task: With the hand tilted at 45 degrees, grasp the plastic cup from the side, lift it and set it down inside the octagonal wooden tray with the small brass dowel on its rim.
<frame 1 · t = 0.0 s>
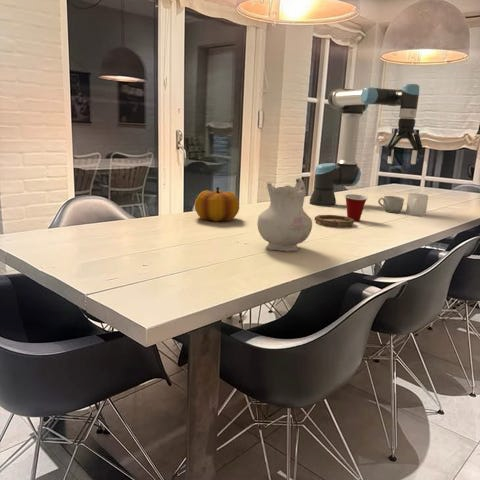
hand: (401, 163, 231), 28 cm above the table, fingers open, 13 cm apart
octagonal wooden tray: (333, 223, 222), on the table
ceramic pitcher: (284, 247, 175), on the table
mug: (415, 214, 260), on the table
decorative pumpkin: (216, 219, 220), on the table
plastic cup: (353, 220, 234), on the table
teacup: (389, 211, 265), on the table
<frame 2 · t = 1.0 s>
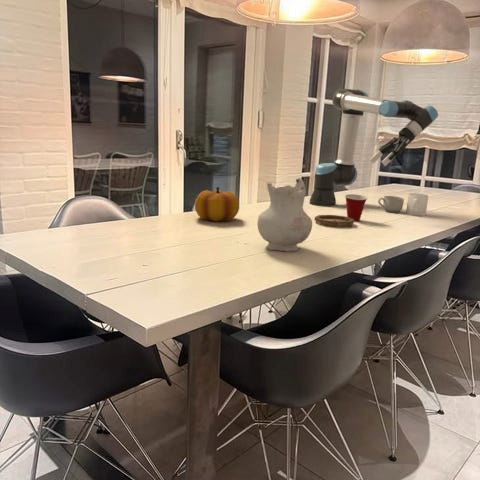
hand: (377, 162, 233), 28 cm above the table, fingers open, 13 cm apart
nothing on the table moved.
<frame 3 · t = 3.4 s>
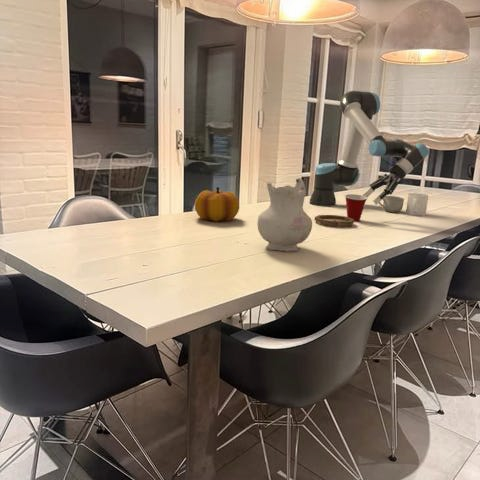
hand: (368, 200, 231), 10 cm above the table, fingers open, 13 cm apart
nothing on the table moved.
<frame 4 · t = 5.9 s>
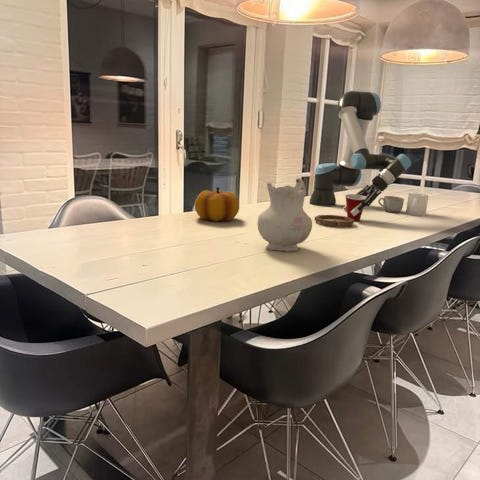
hand: (348, 212, 232), 4 cm above the table, fingers closed on plastic cup, 9 cm apart
plastic cup: (353, 220, 234), on the table, touching gripper
everything else where it was.
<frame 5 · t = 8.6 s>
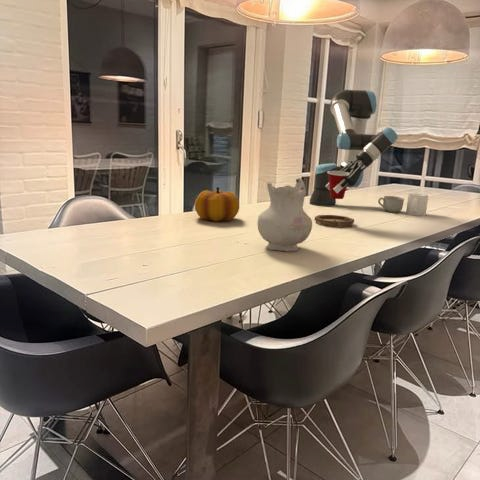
hand: (331, 189, 218), 16 cm above the table, fingers closed on plastic cup, 9 cm apart
plastic cup: (337, 198, 220), point 12 cm above the table, touching gripper
everything else where it was.
when the fingers open (5 cm above the table, at t = 11.6 s): plastic cup stays where it is, resting on octagonal wooden tray.
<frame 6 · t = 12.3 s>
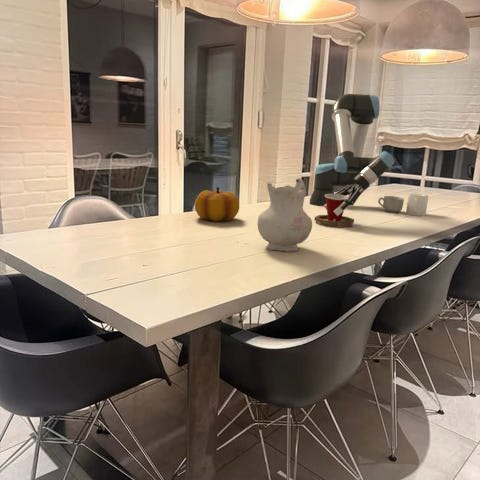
hand: (330, 211, 220), 6 cm above the table, fingers open, 13 cm apart
plastic cup: (334, 221, 222), point 1 cm above the table, touching octagonal wooden tray
everything else where it was.
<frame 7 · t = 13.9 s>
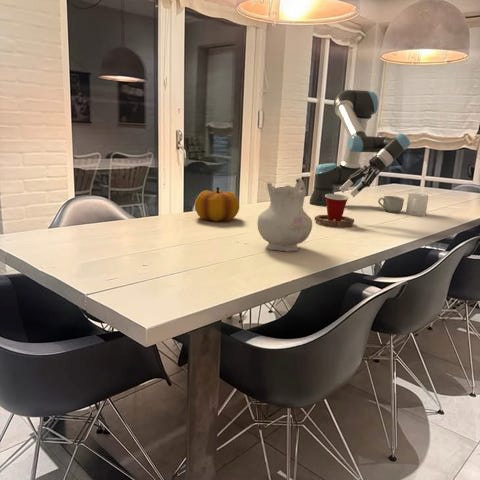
hand: (346, 192, 223), 14 cm above the table, fingers open, 13 cm apart
nothing on the table moved.
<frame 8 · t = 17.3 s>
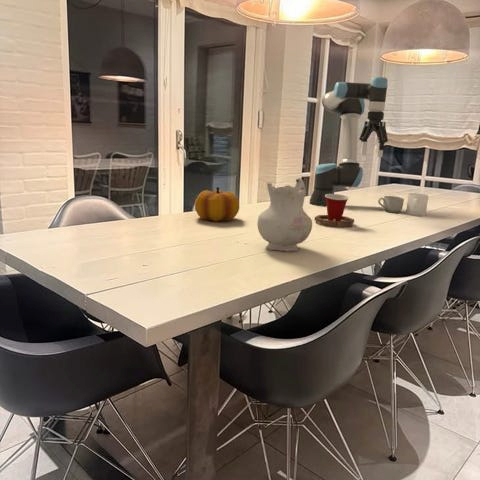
hand: (371, 156, 235), 31 cm above the table, fingers open, 13 cm apart
nothing on the table moved.
at the end: plastic cup 0.1 cm from the octagonal wooden tray (horizontally); plastic cup tilted 0°; the gripper is holding nothing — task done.
